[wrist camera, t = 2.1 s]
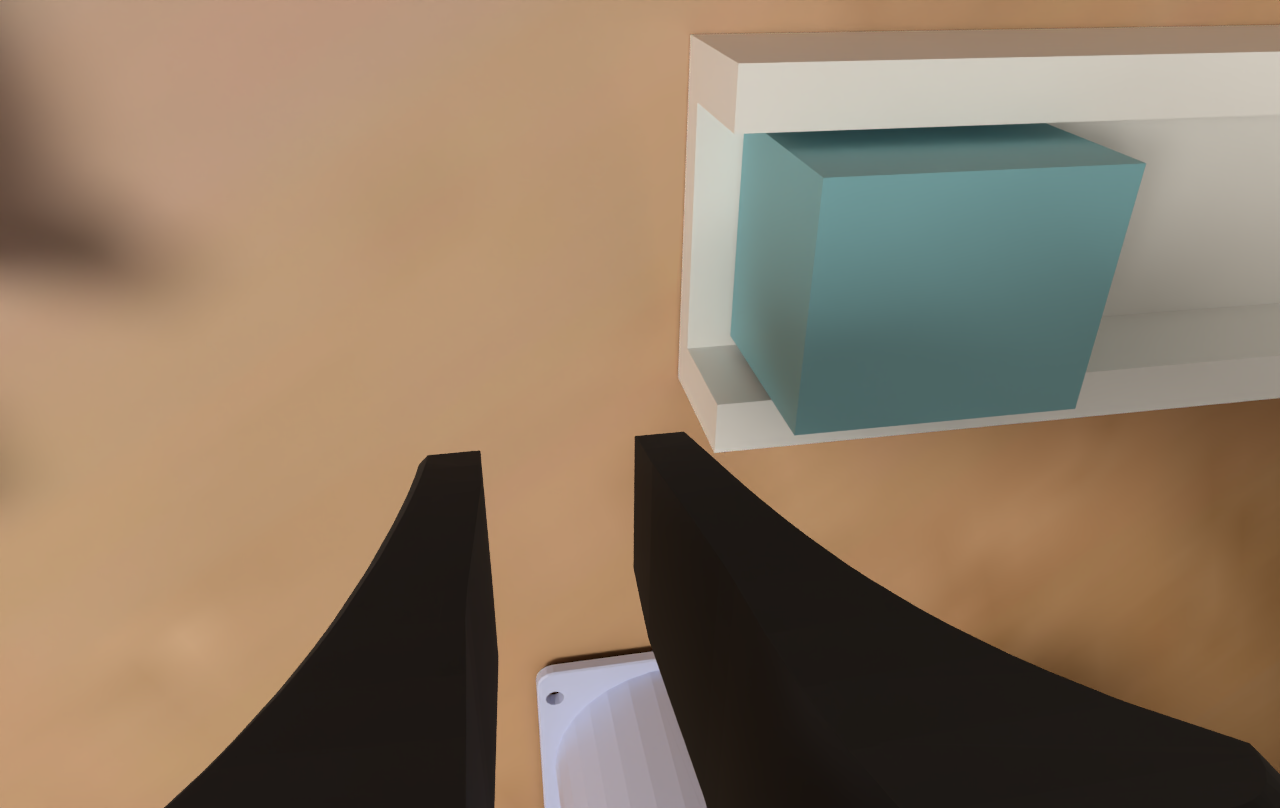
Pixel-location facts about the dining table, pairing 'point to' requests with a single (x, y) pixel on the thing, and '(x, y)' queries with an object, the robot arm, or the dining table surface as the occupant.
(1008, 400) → the block
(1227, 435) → the dining table surface
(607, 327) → the dining table surface
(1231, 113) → the chute
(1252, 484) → the dining table surface
